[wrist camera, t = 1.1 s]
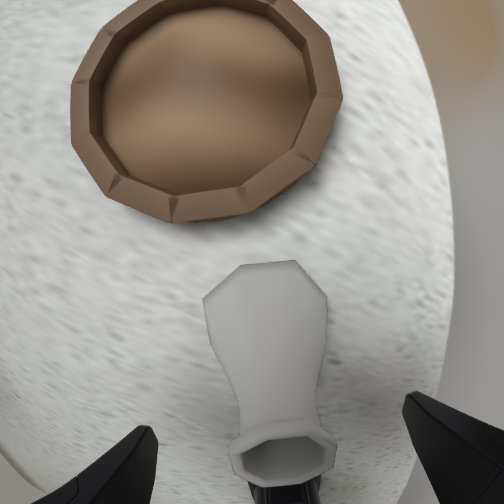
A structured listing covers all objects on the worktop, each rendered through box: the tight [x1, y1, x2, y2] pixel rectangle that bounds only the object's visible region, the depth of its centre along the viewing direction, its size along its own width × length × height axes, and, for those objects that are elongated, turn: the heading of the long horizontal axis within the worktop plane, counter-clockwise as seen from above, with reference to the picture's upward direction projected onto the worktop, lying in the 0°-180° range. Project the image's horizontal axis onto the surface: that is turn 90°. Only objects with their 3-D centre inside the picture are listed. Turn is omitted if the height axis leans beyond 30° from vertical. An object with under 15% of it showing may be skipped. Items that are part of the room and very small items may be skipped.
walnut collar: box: [70, 0, 343, 224], centre depth 12 cm, size 14×14×2 cm
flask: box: [203, 260, 337, 487], centre depth 11 cm, size 7×7×10 cm
